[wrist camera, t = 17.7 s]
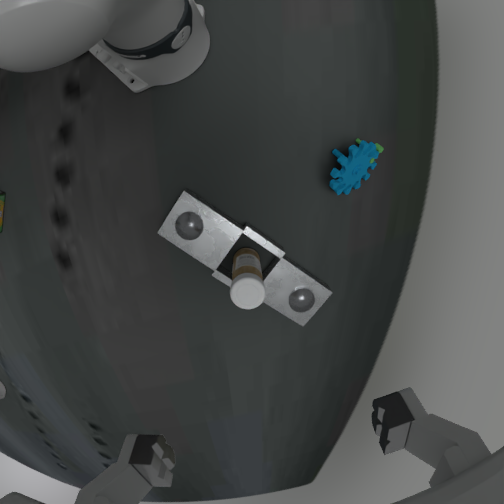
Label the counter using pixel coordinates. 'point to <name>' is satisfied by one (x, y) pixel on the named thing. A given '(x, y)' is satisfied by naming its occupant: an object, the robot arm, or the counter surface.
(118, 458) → the robot arm
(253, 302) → the sprinkles bottle
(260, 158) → the counter surface
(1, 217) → the chalk box
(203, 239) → the grey long flat block
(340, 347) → the counter surface
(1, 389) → the thermal camera
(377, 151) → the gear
